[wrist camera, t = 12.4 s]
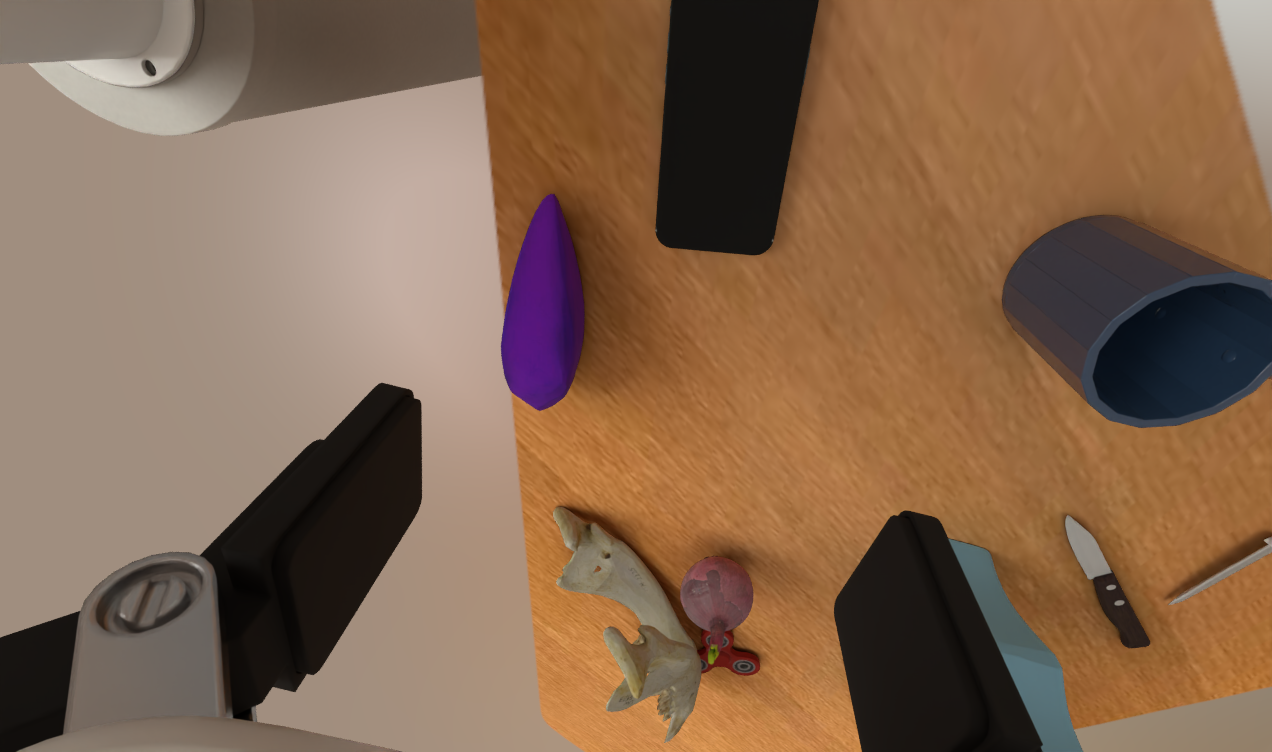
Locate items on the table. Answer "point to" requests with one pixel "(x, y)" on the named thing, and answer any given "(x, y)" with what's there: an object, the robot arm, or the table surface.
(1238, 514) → the table surface
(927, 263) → the table surface
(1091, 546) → the kitchen knife
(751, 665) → the fidget spinner
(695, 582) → the vegetable
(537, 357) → the purple eggplant
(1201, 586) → the knife
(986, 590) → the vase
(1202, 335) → the mug
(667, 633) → the jawbone
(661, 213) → the smartphone
